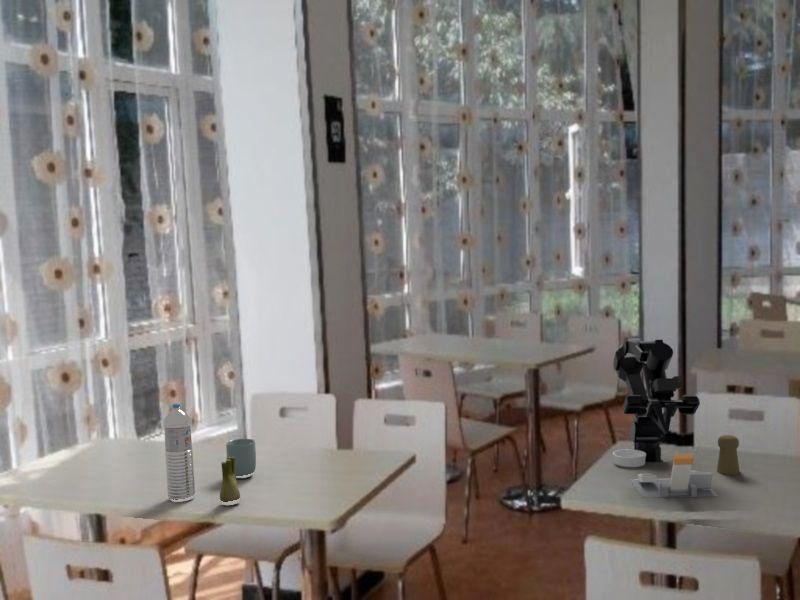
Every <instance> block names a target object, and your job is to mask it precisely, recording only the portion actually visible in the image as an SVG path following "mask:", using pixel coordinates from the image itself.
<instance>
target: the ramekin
mask: <svg viewBox="0 0 800 600" xmlns="http://www.w3.org/2000/svg"><path fill="white" fill-rule="evenodd" d="M612 456H613V462H614V464H615V465H617V466H620V467H625V468H637V467H643V466H645V465H646V462H645V457H646V453H645V452H643V451H640V450H634V449H632V448H631V449H627V448H626V449H617V450H615V451H613V452H612Z"/></svg>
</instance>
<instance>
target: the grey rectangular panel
mask: <svg viewBox="0 0 800 600" xmlns="http://www.w3.org/2000/svg"><path fill="white" fill-rule="evenodd" d="M712 480H713V472H712V471H698V472H690V478H689V483H694V484H695V485H696V487H697V489H712Z"/></svg>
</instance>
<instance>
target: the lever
mask: <svg viewBox="0 0 800 600" xmlns="http://www.w3.org/2000/svg"><path fill="white" fill-rule="evenodd" d="M672 461H673V462H672V469H671V473H670V478H671V479H670V485H669V486H668V493H669V494H671V493H688V483H689V478H690V472H691V470H692V465H693V463H694V455H693V454H692V453H687V454H685V453H684V454H683V453H682V454H681V453H680V454H676V453H675V454H673V459H672Z"/></svg>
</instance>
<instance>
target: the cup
mask: <svg viewBox="0 0 800 600" xmlns="http://www.w3.org/2000/svg"><path fill="white" fill-rule="evenodd" d="M225 445H226V447H225V449H226V458H227V457H235V476H243V475H248V474H251V473H253V472H254V473H255V471H256V465H257V452H256V449H257V448H256V441H255V440H254V439H251V438H235V439H232V440H229V441H227V442H226V444H225Z"/></svg>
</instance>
